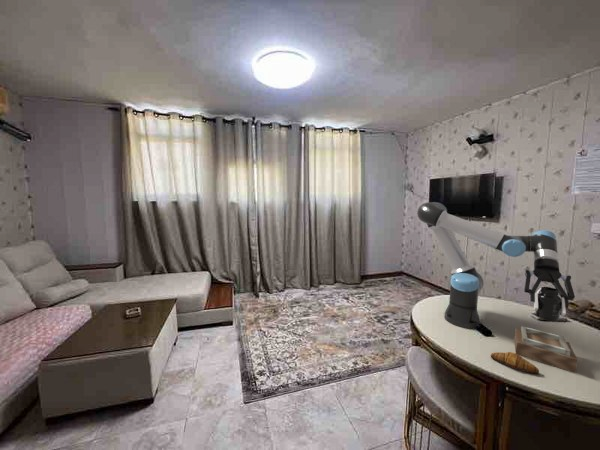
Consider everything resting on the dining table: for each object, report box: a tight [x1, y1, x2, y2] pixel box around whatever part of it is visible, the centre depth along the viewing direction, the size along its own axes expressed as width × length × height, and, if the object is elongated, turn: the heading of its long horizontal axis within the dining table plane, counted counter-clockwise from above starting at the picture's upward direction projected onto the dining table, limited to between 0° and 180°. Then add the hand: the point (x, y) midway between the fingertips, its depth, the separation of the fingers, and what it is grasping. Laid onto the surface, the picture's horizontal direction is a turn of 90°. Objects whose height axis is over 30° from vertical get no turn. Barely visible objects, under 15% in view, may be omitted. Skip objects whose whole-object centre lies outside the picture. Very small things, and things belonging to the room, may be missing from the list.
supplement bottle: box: [534, 286, 561, 322], centre depth 96 cm, size 7×7×12 cm
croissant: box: [490, 351, 540, 375], centre depth 89 cm, size 14×7×5 cm, turn 48°
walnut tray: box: [513, 325, 579, 374], centre depth 96 cm, size 16×14×7 cm
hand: (549, 311), depth 94 cm, fingers closed on supplement bottle, 7 cm apart
